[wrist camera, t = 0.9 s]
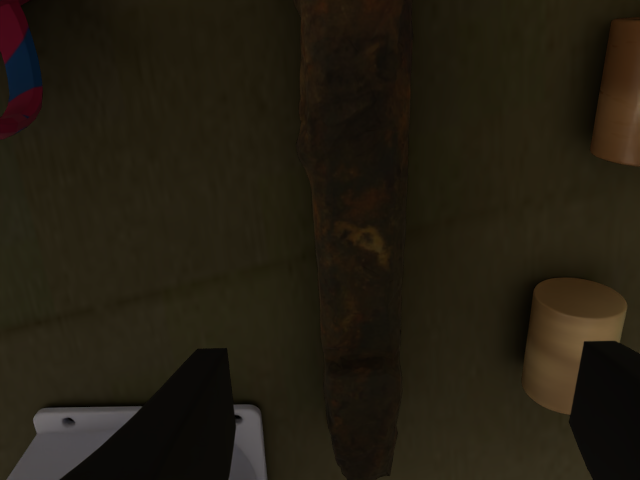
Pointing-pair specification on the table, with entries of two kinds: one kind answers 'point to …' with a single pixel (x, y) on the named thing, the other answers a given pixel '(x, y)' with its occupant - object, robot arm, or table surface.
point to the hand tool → (358, 212)
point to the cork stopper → (619, 96)
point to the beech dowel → (566, 335)
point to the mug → (19, 69)
